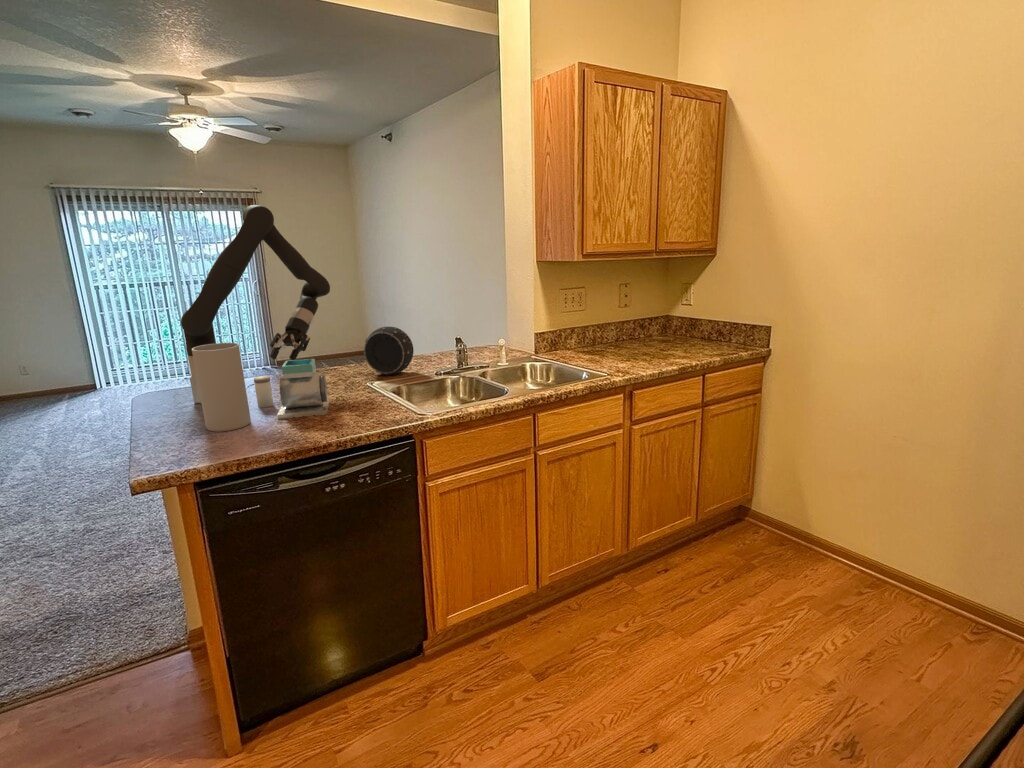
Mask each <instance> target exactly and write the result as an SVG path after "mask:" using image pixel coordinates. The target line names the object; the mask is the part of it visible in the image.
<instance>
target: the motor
mask: <svg viewBox="0 0 1024 768" xmlns="http://www.w3.org/2000/svg"><path fill="white" fill-rule="evenodd" d="M316 367H317V366H316V359H315V358H306V359H295V360H291V359H288V360H285V361H284V362H283V364H282V366H281V371H282V372H281V373H282V375H280V377H279V396H280V402H281V407H280V408H279V410H278V411H277V412H278V413H277V414H276V417H277V420H281V419H283V420H284V419H291V418H292V419H293V417H295V418H302V417H303V416H305V417H312V416H313V415H315V416H323V415H324V416H325V415H327V414H328V412H329V406H330V398H328V389H327V388H328V385H327V380H326V379H327V378H326V375H325V374H321V372H316V371H317V368H316ZM313 417H314V416H313ZM303 418H304V417H303Z"/></svg>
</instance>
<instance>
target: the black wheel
mask: <svg viewBox="0 0 1024 768" xmlns="http://www.w3.org/2000/svg"><path fill="white" fill-rule="evenodd" d="M364 342H365V343H364V348H363V354H364V357H365V360H366V363H367V365H369V367H370V368H372V369H373V370H374V371H375V373H380V374H382V375H386V376H390V375H395V374H399V373H401V372H403V371H404V370H405V369H406V368H408V366H409V365H410V364H411V362H412V360H413V357H414V346H413V342H412V340H411V337H410V336H409V335H408V334H407V333H406V332H405V331H404V330H402V329H400V328H399V327H396V326H383V327H379V328H376V329H375V330H372V332H371V333H370V334H369V335H368V337H367V338H366V339H365V340H364Z"/></svg>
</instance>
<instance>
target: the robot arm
mask: <svg viewBox="0 0 1024 768" xmlns="http://www.w3.org/2000/svg"><path fill="white" fill-rule="evenodd" d="M242 220H243V223H242V225H241V226H240V229H239V231H238V233H237V234H236V236H235V237H234V239H232V240H231V242H229V244H228V245H227V246H226V247H225V248H224V249H223V250H222V251H221V252H220V254H219V255H218V256H217V258H216V260H215V261H214V263H213V264H212V267H211V268H210V270H209V272H208V274H207V276H206V279H205V281H204V283H203V285H202V288H201V290H200V293H199V294H198V295H197V297H196V299H195V300H194V301H193V302H192V304H191V306H190V307H189V308H188V309H187V310H186V311H185V312H184V313H183V314H182V315H181V320H180V326H181V328H182V330H183V334H184V341H185V349H186V354H187V361H188V365H189V369H190V370H189V371H190V375H191V376H190V377H189V381H190V382H189V383H190V387H191V388H190V389H191V393H192V398H193V399H192V400H193V403H194V404H202V403H201V398H200V392H199V387H198V381H197V376H196V370H195V365H194V359H193V354H192V348H194V347H197V346H202V345H208V344H216V342H217V341H216V338H215V331H214V325H213V322H214V321H215V318H216V316H217V314H218V311H219V310H220V307H221V306H222V304H223V303H224V302H225V301H226V300H227V298H228V297H229V295H230V294H231V293H232V291H233V290H234V289H235V287H236V286H237V285H238V282H240V280H241V278H242V276H243V274H244V273H245V271H246V269H247V267H248V266H249V263H250V262H251V260H252V258H253V256H254V254H255V251H256V250H257V248H258V247H259V245H260V243H262V241H263V242H264V243H266V245H267V246H268V247H269V248H270V249H271V250H272V251H273V252H274V254H275V255H276V256H277V257H278V259H279V260H280V261H281V262H282V263H283V265H284V266H285V267H286V268H287V270H289V272H290V273H291V274H292V275H293V277H294V278H296V279H297V280H299V281H305V283H304V284H303V285H302V287H301V288H302V289H301V292H300V296H299V297H300V298H299V301H298V303H297V305H296V306H295V309H294V310H293V312H292V313H291V315H290V317H289V319H288V321H287V323H286V325H285V326H284V333H283V334H280V333H279V332H277V333H276V334H275V335H274V338H273V339H272V340H271V342H270V344H269V346H270V347H271V348H272V351H271V353H270V354H269V356H270V358H271V359H272V360H274V361H275V360H277V357H278V355H279V353H280V351H281V350H282V349H285V348H287V347H293V349H292V350H291V353H290V355H289V360H297V357H298V356H299V353H301V352H305V351H306V350H307V347H308V345H309V343H310V340H311V338H310V336H309V335H308V334H307V333H308V331H309V330H310V327H311V325H312V323H313V319H314V318H315V315H316V312H317V311H318V308H319V303H318V301H317V299H318V298H322V297H324V296H325V297H326V295H329V293H330V291H331V285H330V283H329V281H328V280H327V278H326V277H325V276H324V275H322V274H321V273H320V272H318V271H317V270H316V269H315V268H313V267H312V266H311V265H310V264H309V262H308V261H307V260H306V259H305V258H304V257H303V256H302V254H301V253H300V252H299V251H298V250H297V249H296V248H295V247H294V246H293V245H292V244H291V243H290V242H289V241H288V240H287V239H286V238H285V237H284V236H283V234H281V232H280V231H279V229H278V228H277V227H276V225H275V224H274V223H275V216H274V214H273V212H272V211H271V210H270V209H269V208H268V207H266V206H263V205H259V204H251V205H248V206H247V207H245V208H244V210H243V212H242Z"/></svg>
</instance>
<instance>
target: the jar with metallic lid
mask: <svg viewBox="0 0 1024 768" xmlns="http://www.w3.org/2000/svg"><path fill="white" fill-rule="evenodd" d="M253 383H254V389H255V394H256V402H257V406H258V408H261V409H262V408H270V407H272V406H274V398H273V391H272V384H271V383H272V382H271V377H270V376H269V375H260V376H256V377H253Z"/></svg>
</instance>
